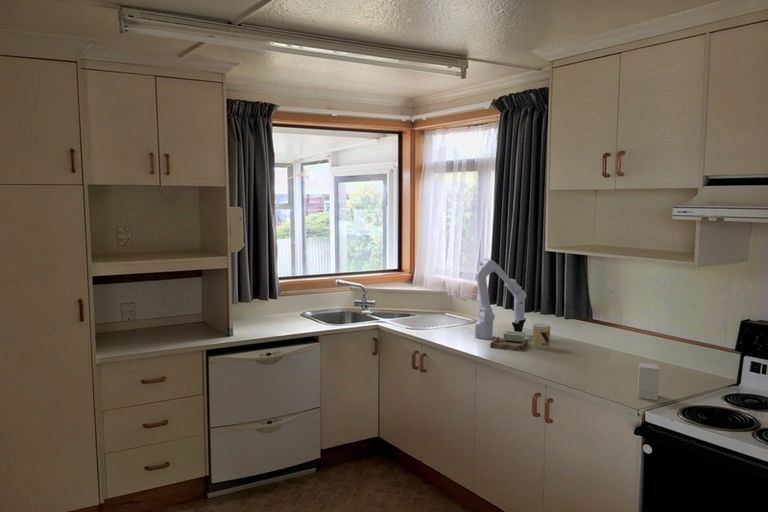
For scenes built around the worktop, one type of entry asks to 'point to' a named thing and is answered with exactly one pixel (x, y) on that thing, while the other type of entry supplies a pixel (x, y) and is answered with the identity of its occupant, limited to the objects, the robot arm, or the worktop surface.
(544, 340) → the coffee cup
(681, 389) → the worktop surface
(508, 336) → the green block
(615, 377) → the worktop surface
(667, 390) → the worktop surface
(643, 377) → the supplement box
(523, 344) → the wooden tray
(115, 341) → the worktop surface
